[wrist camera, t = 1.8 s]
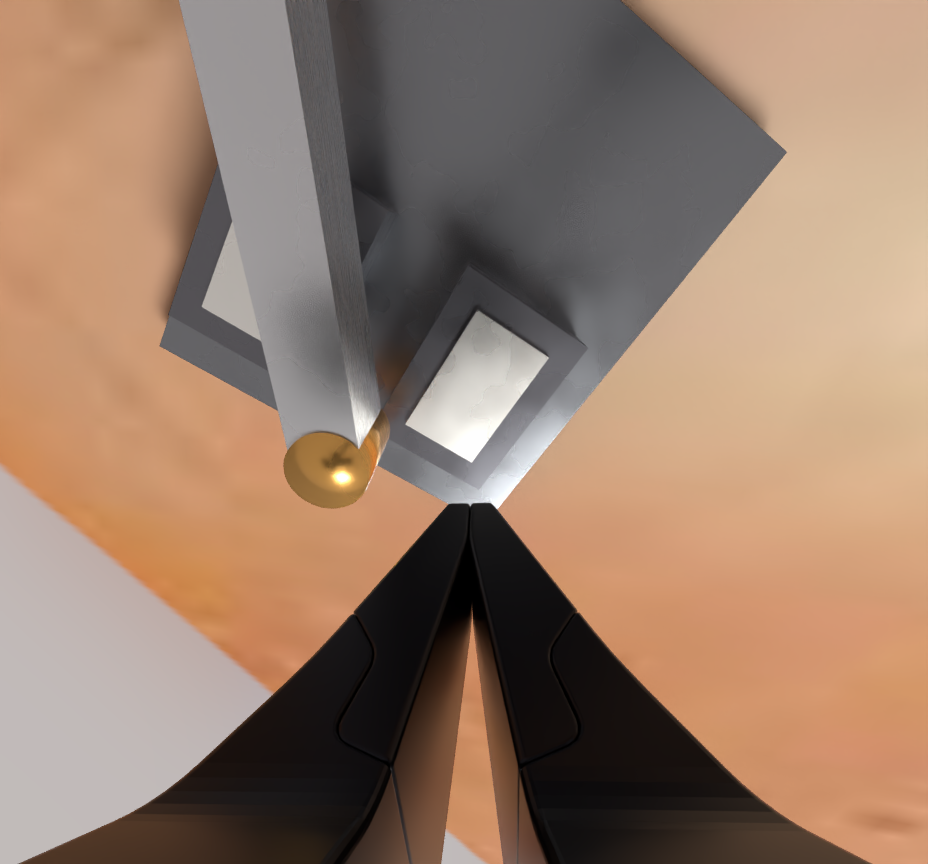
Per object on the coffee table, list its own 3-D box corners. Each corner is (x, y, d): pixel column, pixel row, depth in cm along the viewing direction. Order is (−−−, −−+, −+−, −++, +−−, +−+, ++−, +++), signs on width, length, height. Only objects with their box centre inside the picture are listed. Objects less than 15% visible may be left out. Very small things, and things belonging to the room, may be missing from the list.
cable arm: (169, -339, 8) (2, -652, 5) (290, -353, 8) (185, -682, 5) (327, 458, 15) (293, 509, 13) (393, 456, 15) (373, 507, 12)
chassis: (363, -205, 12) (325, -351, 9) (768, 157, 15) (838, 137, 12) (175, 340, 18) (118, 360, 15) (484, 512, 22) (485, 554, 19)
